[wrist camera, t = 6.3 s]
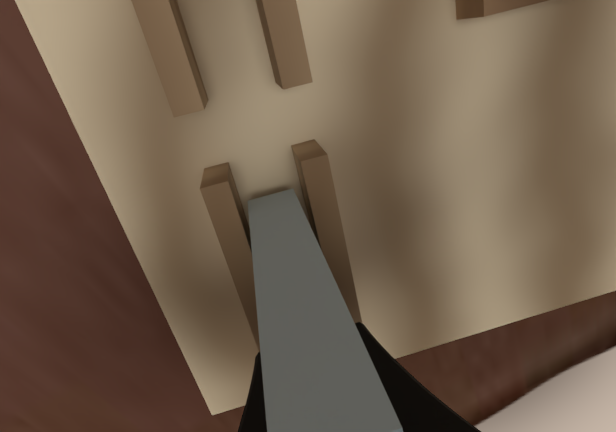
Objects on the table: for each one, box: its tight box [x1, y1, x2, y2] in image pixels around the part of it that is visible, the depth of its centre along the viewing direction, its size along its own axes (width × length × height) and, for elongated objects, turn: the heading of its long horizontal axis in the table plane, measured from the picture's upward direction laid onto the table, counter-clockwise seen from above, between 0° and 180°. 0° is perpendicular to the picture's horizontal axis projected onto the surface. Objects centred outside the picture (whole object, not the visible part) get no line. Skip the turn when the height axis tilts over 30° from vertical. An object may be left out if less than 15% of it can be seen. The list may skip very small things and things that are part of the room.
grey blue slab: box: [247, 189, 403, 432], centre depth 10 cm, size 2×7×9 cm, turn 13°
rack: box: [15, 0, 616, 415], centre depth 13 cm, size 20×22×3 cm
